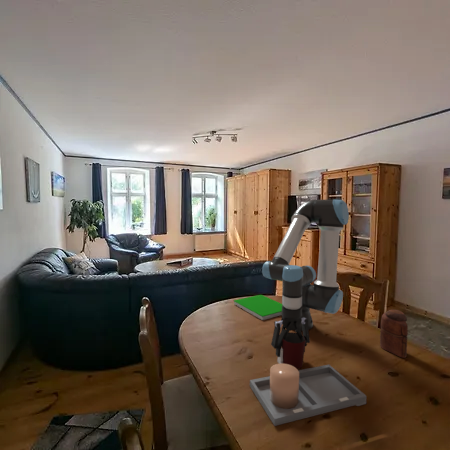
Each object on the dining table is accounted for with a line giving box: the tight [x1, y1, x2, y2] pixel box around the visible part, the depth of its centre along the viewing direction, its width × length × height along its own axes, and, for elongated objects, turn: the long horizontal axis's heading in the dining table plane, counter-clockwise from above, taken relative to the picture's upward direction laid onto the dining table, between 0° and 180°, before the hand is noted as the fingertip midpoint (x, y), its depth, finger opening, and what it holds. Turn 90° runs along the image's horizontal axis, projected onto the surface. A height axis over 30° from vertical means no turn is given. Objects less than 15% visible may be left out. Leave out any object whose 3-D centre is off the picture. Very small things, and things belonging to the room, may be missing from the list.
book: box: [233, 294, 283, 321], centre depth 168 cm, size 22×28×3 cm
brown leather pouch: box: [379, 309, 409, 359], centre depth 119 cm, size 12×6×18 cm, turn 28°
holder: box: [249, 364, 367, 427], centre depth 92 cm, size 32×18×3 cm, turn 108°
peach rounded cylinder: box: [269, 363, 299, 409], centre depth 89 cm, size 9×9×9 cm
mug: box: [281, 331, 306, 370], centre depth 110 cm, size 12×9×11 cm
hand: (290, 362), depth 111 cm, fingers closed on mug, 8 cm apart
